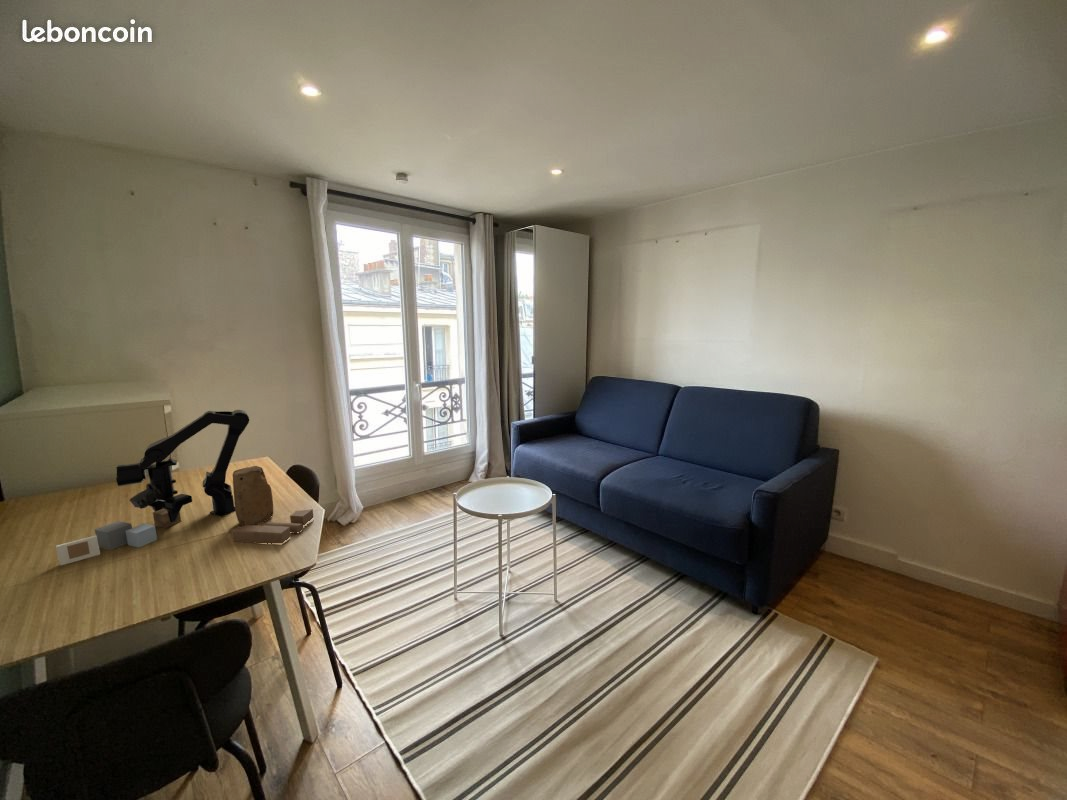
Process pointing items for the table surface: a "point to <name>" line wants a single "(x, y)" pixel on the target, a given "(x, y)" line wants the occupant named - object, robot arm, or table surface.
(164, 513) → the walnut cube
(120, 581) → the table surface
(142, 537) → the slate cube
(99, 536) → the base block
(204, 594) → the table surface
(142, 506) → the robot arm
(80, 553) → the placard
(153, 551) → the table surface
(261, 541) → the wooden block set
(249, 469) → the block
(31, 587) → the table surface
